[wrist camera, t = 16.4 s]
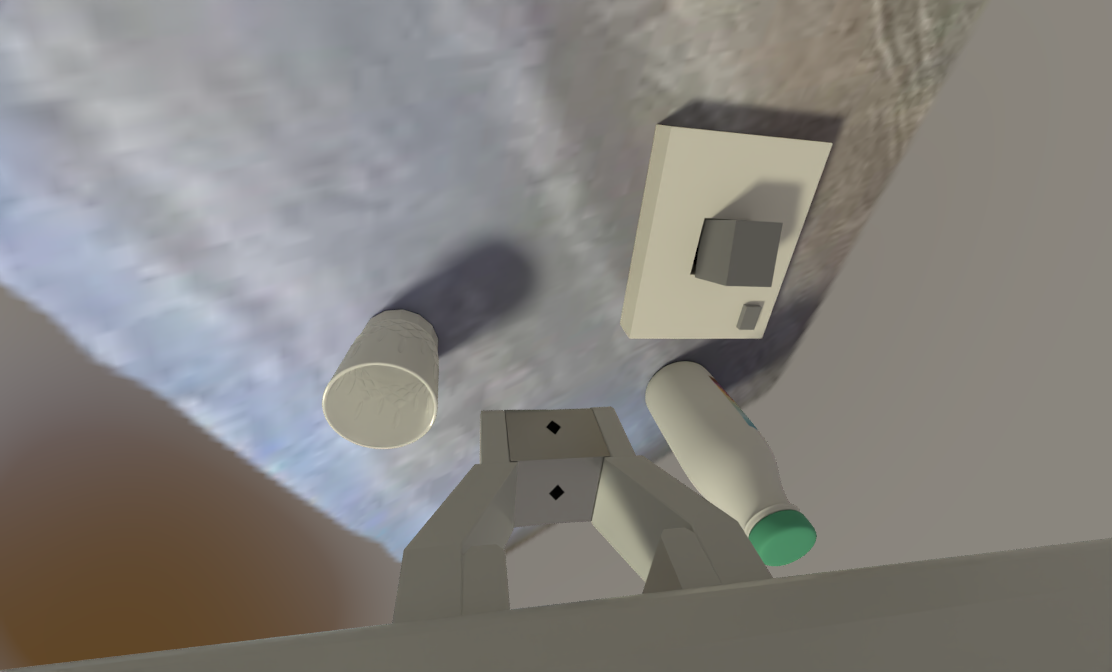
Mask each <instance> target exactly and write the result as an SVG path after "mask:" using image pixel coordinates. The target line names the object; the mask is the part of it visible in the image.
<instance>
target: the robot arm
mask: <svg viewBox="0 0 1112 672" xmlns="http://www.w3.org/2000/svg"><path fill="white" fill-rule="evenodd" d="M586 521H592V524H593V525H594V526H595V528H597V530H598V531H599V532H600V533H601V534H602V535H603V536H604V537H605V539H606V540H607V541H608V542H609V543H610V544H611V545H612V546H613V547H614V548H615V549H616V551H617V552H618V553H619V554H620V555H621V556H622V557H623V558H624V559H625V560H626V562H627V563H628V564H629V565H630V566H631V567H632V568H633V569H634V570H635V572H636V573H637V574H638V575H639V576H640V577H641V578H642V579H643V580H644V581H645V586H644V590H643V593H642V594H638V595H630V596H622V597H613V598H605V599H596V600H587V601H579V602H571V603H562V604H553V605H546V606H537V607H528V608H520V609H511V610H510V603H509V592H508V579H507V568H506V556H505V550H504V547H505V545H506V543H507V541H508V539H509V538H510V536H511V534H512V532H513V528H514V527H523V526H532V525H541V524H550V523H567V522H586ZM0 672H1112V538H1108V539H1100V540H1091V541H1083V542H1074V543H1067V544H1058V545H1050V546H1041V547H1033V548H1025V549H1016V550H1008V551H1000V552H991V553H983V554H974V555H965V556H957V557H948V558H940V559H932V560H924V561H915V562H906V563H898V564H889V565H882V566H872V567H864V568H856V569H847V570H839V571H830V572H822V573H813V574H806V575H796V576H788V577H780V578H773V577H772V575H771V574H770V572H769V570H768V569H767V567H766V566H765V564H764V562H763V561H762V559H761V558H760V556H759V554H758V553H757V551H756V550H755V548H754V546H753V545H752V543H751V542H750V540H749V538H748V537H747V535H746V534H745V532H744V530H743V529H742V527H741V526H740V524H739V522H738V521H737V520H735V519H734V518H732V517H731V516H729V515H728V514H726V513H725V512H723V511H722V510H721V509H719V508H718V507H716V506H715V505H713V504H712V503H710V502H709V501H708V500H706V499H705V498H703V497H702V496H700V495H699V494H697V493H696V492H694V491H693V490H691V489H690V488H689V487H687V486H686V485H684V484H683V483H681V482H680V481H679V480H677V479H676V478H674V477H673V476H671V475H670V474H668V473H667V472H666V471H664V470H663V469H661V468H660V467H658V466H657V465H655V464H654V463H652V462H651V461H650V460H648V459H647V458H645V457H644V456H636V455H635V452H634V450H633V448H632V446H631V444H630V442H629V440H628V438H627V435H626V433H625V431H624V429H623V427H622V425H621V423H620V420H619V418H618V416H617V414H616V412H615V410H614V408H612V407H593V408H586V409H557V410H504V411H503V410H483V411H481V414H480V464H475V465H474V466H473V467H472V468H471V470H470V471H469V472H468V473H467V474H466V476H465V477H464V478H463V479H462V480H461V482H460V483H459V484H458V485H457V486H456V488H455V489H454V490H453V491H452V492H451V494H450V495H449V496H448V497H447V498H446V500H445V501H444V502H443V503H442V505H441V506H440V507H439V508H438V509H437V511H436V512H435V513H434V514H433V515H432V517H431V518H430V519H429V520H428V521H427V523H426V524H425V525H424V526H423V527H422V529H421V530H420V531H419V532H418V533H417V535H416V536H415V537H414V538H413V540H412V541H411V542H410V543H409V544H408V546H407V547H406V548H405V549H404V552H403V558H402V565H401V572H400V577H399V584H398V590H397V596H396V603H395V609H394V615H393V622H392V624H385V625H377V626H368V627H360V628H351V629H343V630H334V631H327V632H318V633H309V634H301V635H293V636H284V637H276V638H267V639H259V640H250V641H242V642H234V643H225V644H217V645H209V646H200V647H191V648H183V649H175V650H166V651H158V652H150V653H141V654H133V655H124V656H116V657H108V658H99V659H91V660H83V661H74V662H65V663H57V664H49V665H40V666H32V667H23V668H15V669H7V670H0Z"/></svg>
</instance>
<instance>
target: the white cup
mask: <svg viewBox="0 0 1112 672" xmlns="http://www.w3.org/2000/svg"><path fill="white" fill-rule="evenodd" d="M438 380H439V358H438V338H437V335H436V333H435V331H434V329H433V326H432V325H431V324H430V323H429V322H427V321H426V320H425V319H424V318H423V317H422V316H420V315H419V314H416V313H412V312H409V311H406V310H403V309H401V310H389V311H384V312H382V313H380V314H378V315H376V316H375V317H373V318H371V319H370V320H369V322H368V323H367V325H366V326H365V328H364V329H363V331H362V333H361V334H360V335H359V336H358V337H357V338H356V339H355V341H354V343H353V344H352V345H351V347H350V349H349V350H348V352H347V354H346V355H345V357H344V359H343V360H342V362H341V364H340V365H339V367H338V369H337V370H336V372H335V374H334V375H333V377H332V379H331V380H330V382H329V384H328V385H327V387H326V389H325V391H324V394H323V399H322V407H323V412H324V415H325V418H326V420H327V421H328V423H329V425H330V426H331V427H332V428H333V429H334V430H335V431H336V432H337V433H338V434H339V435H340V436H342V437H343V438H345V439H346V440H348V441H350V442H352V443H355V444H357V445H360V446H364V447H368V448H374V449H391V448H398V447H402V446H405V445H408V444H410V443H413V442H415V441H416V440H418V439H420V438H421V437H422V436H424V435H425V434H426V433H427V432H428V431H429V429H430V428H431V427H432V425H433V423H434V421H435V419H436V416H437V409H438Z"/></svg>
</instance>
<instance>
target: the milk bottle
mask: <svg viewBox="0 0 1112 672" xmlns="http://www.w3.org/2000/svg"><path fill="white" fill-rule="evenodd" d="M645 400H646V404H647V407H648V409H649V411H650V413H651V414H652V416H653V418H654V420H655V421H656V423H657V425H658V427H659V429H660V430H661V432H662V434H663V436H664V437H665V439H666V441H667V443H668V444H669V446H670V448H671V449H672V451H673V453H674V455H675V456H676V458H677V460H678V461H679V463H680V465H681V466H682V468H683V470H684V471H685V473H686V475H687V476H688V478H689V479H690V481H691V482H692V484H693V485H694V486H695V488H696V489H697V490H698V491H699V492H700V493H701V494H702V495H703V496H704V497H705V498H706V499H707V500H708V501H709V502H711V503H712V504H714V505H715V506H716V507H718V508H720V509H721V510H723V511H724V512H725V513H727V514H728V515H729V516H731V517H732V518H734V519H735V520H737V521H738V522H739V524H740V526H741V527H742V528H743V530H744V532H745V534H746V535H747V537H748V538H749V540H750V542H751V543H752V545H753V546H754V548H755V550H756V551H757V553H758V554H759V556H760V558H761V559H762V561H763V562H764V564H765V565H769V566H781V565H786V564H789V563H791V562H794V561H796V560H798V559H799V558H801V557H802V556H804V555H805V554H806V553H807V552H808V551H810V549H811V548H812V547H813V545H814V543H815V541H816V537H817V535H816V532H815V529H814V527H813V526H812V525H811V523H810V522H809V521H808V520H807V518H806V517H805V516H804V515H803V514H802V513H801V512H800V510H799V508H798V507H797V506H795V505H793V504H791V503H790V502H789V501H788V499H787V497H786V495H785V492H784V490H783V487H782V484H781V481H780V476H779V471H778V467H777V462H776V460H775V457H774V454H773V452H772V450H771V448H770V446H769V445H768V443H767V442H766V440H765V438H764V437H763V436H762V435H761V433H760V432H759V431H758V430H757V428H756V427H755V426H754V424H753V423H752V422H751V421H750V420H749V418H748V417H747V416H746V415H745V414H744V412H743V411H742V410H741V409H740V408H739V407H738V405H737V404H736V403H735V402H734V401H733V399H732V398H731V397H730V396H729V395H728V394H727V392H726V391H725V390H724V389H723V388H722V387H721V386H720V384H719V383H718V382H717V381H716V380H715V379H714V377H713V376H712V375H711V374H710V373H709V372H708V371H707V370H706V369H705V368H704V367H703V366H701V365H699V364H697V363H694V362H688V361H680V362H675V363H672V364H669V365H667V366H665V367H664V368H662V369H661V370H659V371H658V372H657V373H656V374H655V375H654V376H653V377H652V378H651V380H650V382H649V383H648V386H647V388H646V394H645Z"/></svg>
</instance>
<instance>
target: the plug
mask: <svg viewBox="0 0 1112 672" xmlns="http://www.w3.org/2000/svg"><path fill="white" fill-rule="evenodd" d="M782 225H783V223H780V222H763V221H745V220H704V222H703V226H702V230H701V234H700V238H699V241H700V242H699V249H698V257H697V264H696V272H695V278H698V279H702V280H706V281H709V282H713V283H717V284H720V285H724V286H745V287H771V286H772V281H773V275H774V269H775V264H776V258H777V253H778V247H779V242H780V236H781V231H782Z"/></svg>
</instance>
